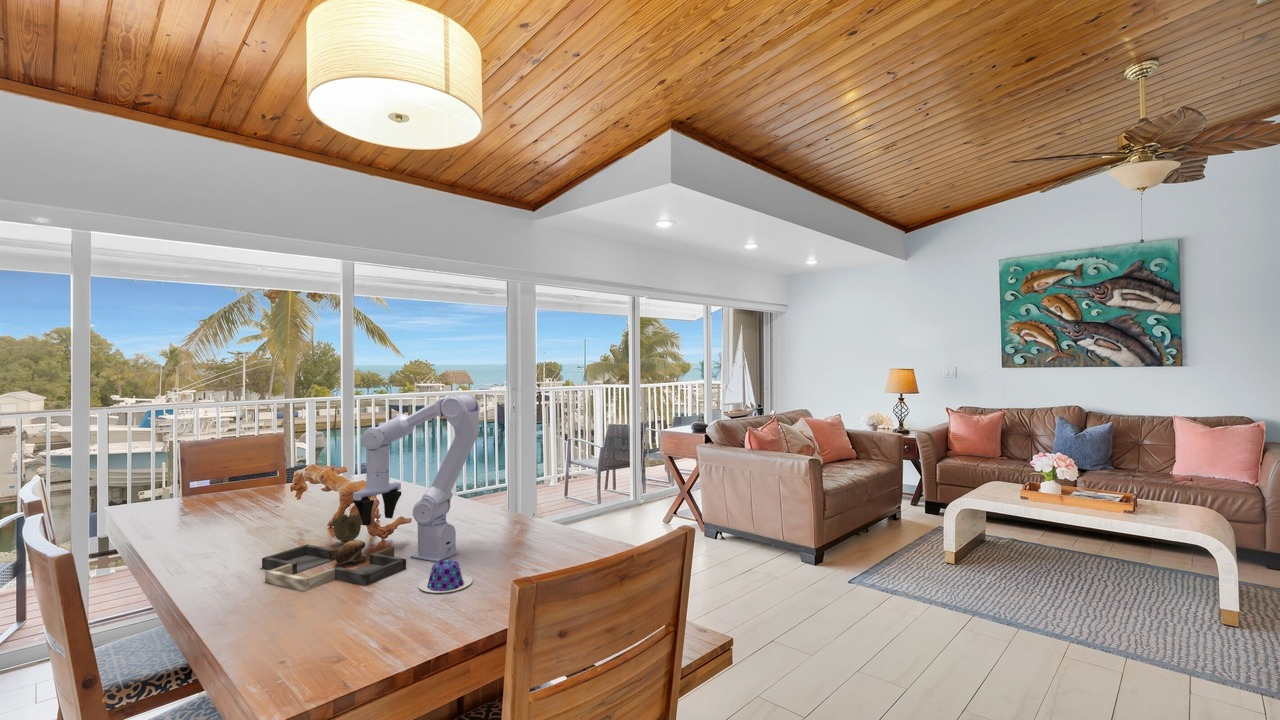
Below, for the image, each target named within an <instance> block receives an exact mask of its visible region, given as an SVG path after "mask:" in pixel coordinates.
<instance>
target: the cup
mask: <svg viewBox="0 0 1280 720" xmlns="http://www.w3.org/2000/svg"><path fill="white" fill-rule="evenodd" d="M332 525H333V532H334V533H333V534H334V536H335V538H336V539H337V540H338V541H340V543H339V544H340V547H341V546H343V545H344V544H345V543H347V542H349V541H351V540H356V539H357V538H358V537H359V535H360V533H361V527H362V520H361V516H360V514H359V513H357V514H356V513H354V514H353V515H352V513H350V514H348V515H347V514H346V513H344V514H342V515H340V514H339V515H337V519H336V517H333V518H332Z"/></svg>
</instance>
